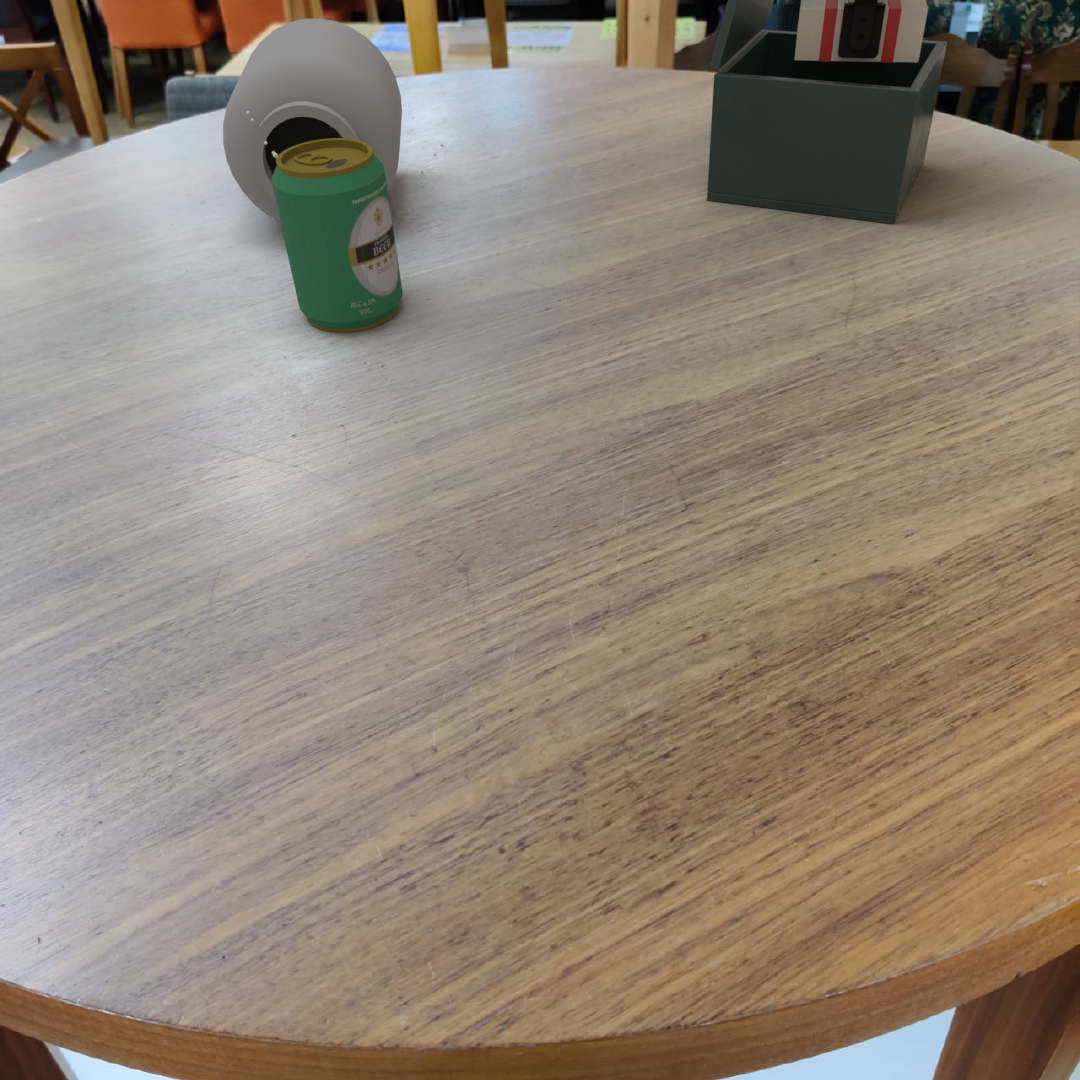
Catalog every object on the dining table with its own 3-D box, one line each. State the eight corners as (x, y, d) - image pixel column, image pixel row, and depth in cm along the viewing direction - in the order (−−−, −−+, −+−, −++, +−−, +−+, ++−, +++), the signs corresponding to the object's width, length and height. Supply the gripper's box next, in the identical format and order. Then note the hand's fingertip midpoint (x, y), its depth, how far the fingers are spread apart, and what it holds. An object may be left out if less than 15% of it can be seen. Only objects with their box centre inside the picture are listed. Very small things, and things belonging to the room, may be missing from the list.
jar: (472, 118, 98) (426, 178, 77) (387, 236, 105) (323, 320, 83) (308, -23, 93) (210, -1, 71) (229, 110, 99) (119, 167, 78)
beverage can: (363, 343, 75) (334, 183, 67) (280, 322, 78) (243, 166, 70) (424, 297, 80) (403, 143, 72) (344, 279, 83) (316, 130, 76)
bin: (923, 164, 96) (947, 41, 89) (894, 224, 86) (918, 91, 79) (752, 146, 102) (762, 29, 95) (706, 200, 92) (713, 74, 85)
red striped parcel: (915, 49, 87) (925, -4, 84) (918, 63, 84) (928, 8, 81) (796, 47, 89) (801, -5, 86) (794, 61, 86) (800, 8, 83)
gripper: (959, -212, 67) (907, 80, 79) (943, -232, 79) (900, 23, 91) (842, -208, 69) (808, 78, 81) (844, -228, 81) (814, 22, 93)
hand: (857, 46), depth 86 cm, fingers closed on red striped parcel, 4 cm apart
